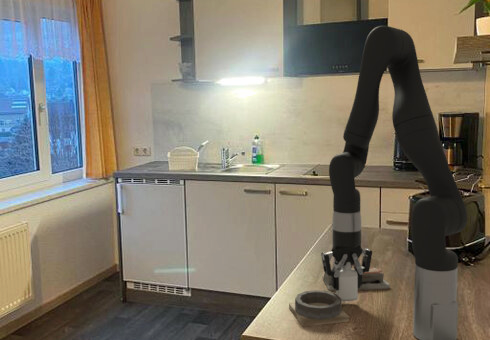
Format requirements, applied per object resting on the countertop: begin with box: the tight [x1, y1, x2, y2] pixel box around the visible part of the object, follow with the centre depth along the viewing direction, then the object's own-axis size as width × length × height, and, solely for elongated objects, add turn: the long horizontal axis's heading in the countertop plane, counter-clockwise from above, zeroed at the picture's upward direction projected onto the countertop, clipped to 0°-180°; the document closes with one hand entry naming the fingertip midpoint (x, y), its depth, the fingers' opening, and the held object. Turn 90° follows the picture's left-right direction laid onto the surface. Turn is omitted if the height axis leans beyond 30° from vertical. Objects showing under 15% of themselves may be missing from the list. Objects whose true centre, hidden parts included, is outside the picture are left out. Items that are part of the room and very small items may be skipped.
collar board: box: [288, 289, 350, 328], centre depth 137 cm, size 12×12×4 cm
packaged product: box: [322, 267, 390, 291], centre depth 158 cm, size 18×5×10 cm
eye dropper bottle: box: [335, 262, 359, 302], centre depth 143 cm, size 4×6×12 cm
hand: (346, 288), depth 143 cm, fingers closed on eye dropper bottle, 5 cm apart
